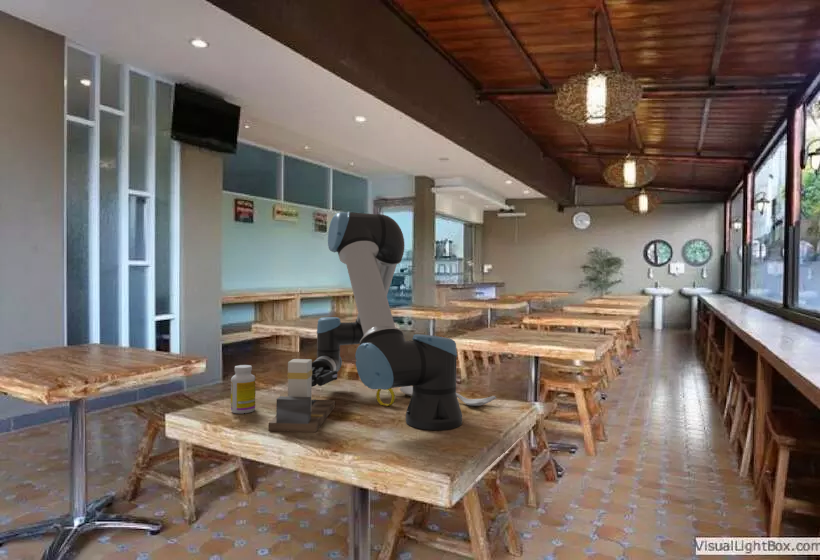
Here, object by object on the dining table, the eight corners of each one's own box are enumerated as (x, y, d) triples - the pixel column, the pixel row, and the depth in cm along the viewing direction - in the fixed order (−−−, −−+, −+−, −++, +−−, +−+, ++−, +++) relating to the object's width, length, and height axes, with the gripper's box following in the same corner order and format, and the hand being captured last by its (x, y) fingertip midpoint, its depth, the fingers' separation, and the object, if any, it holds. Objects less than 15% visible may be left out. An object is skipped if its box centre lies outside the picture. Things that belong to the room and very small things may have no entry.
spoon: (483, 413, 150) (483, 401, 150) (394, 396, 169) (394, 385, 168) (496, 406, 157) (497, 395, 157) (410, 391, 176) (410, 381, 176)
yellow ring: (395, 406, 156) (397, 387, 156) (390, 408, 154) (391, 388, 154) (379, 402, 160) (380, 383, 159) (374, 404, 157) (375, 384, 157)
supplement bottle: (260, 410, 149) (260, 365, 149) (241, 415, 144) (241, 369, 143) (244, 407, 153) (244, 363, 152) (225, 412, 147) (225, 366, 147)
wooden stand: (294, 406, 154) (294, 379, 154) (334, 407, 154) (334, 380, 154) (268, 430, 130) (268, 399, 130) (315, 432, 130) (316, 400, 130)
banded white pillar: (292, 410, 140) (293, 358, 140) (311, 411, 140) (312, 359, 139) (287, 416, 135) (287, 362, 134) (307, 416, 134) (307, 362, 134)
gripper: (342, 382, 163) (326, 401, 139) (301, 381, 164) (278, 400, 140) (342, 358, 163) (326, 373, 139) (301, 357, 164) (278, 372, 140)
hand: (302, 386), depth 140 cm, fingers closed
